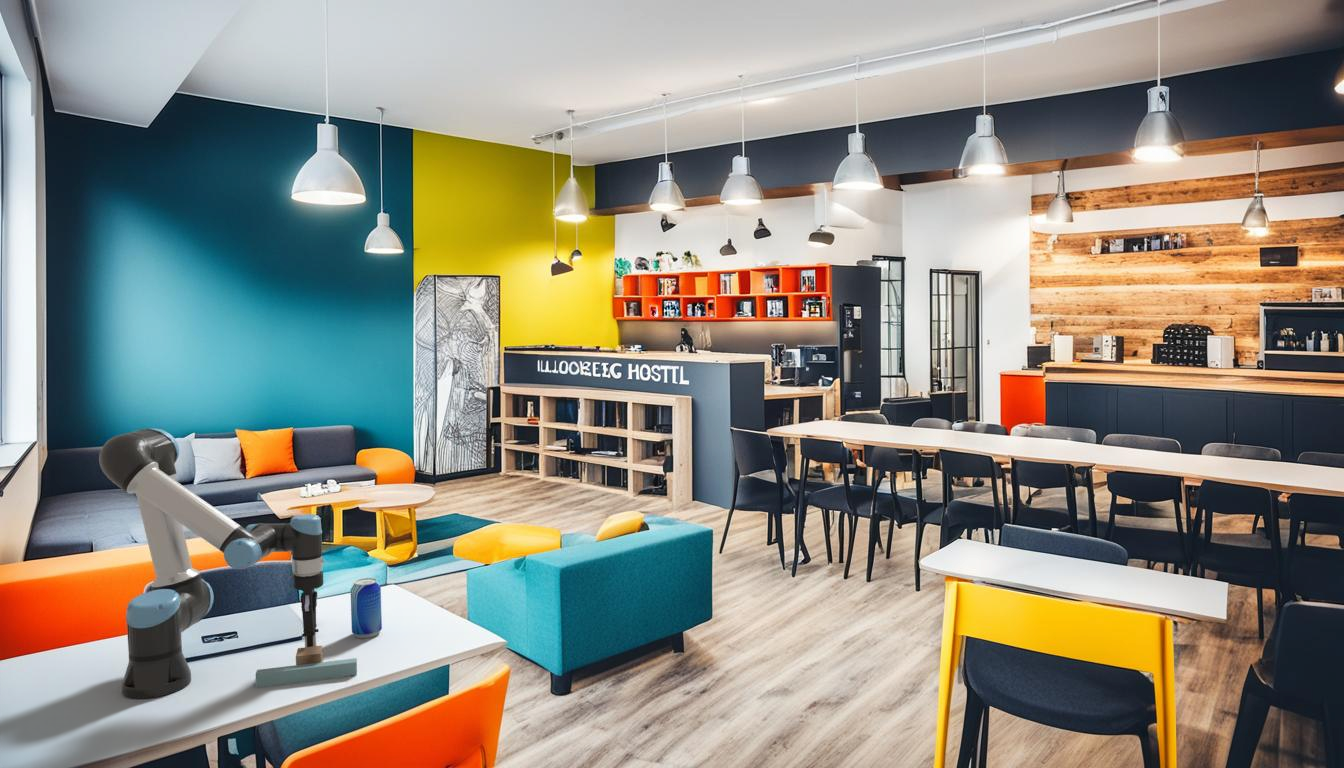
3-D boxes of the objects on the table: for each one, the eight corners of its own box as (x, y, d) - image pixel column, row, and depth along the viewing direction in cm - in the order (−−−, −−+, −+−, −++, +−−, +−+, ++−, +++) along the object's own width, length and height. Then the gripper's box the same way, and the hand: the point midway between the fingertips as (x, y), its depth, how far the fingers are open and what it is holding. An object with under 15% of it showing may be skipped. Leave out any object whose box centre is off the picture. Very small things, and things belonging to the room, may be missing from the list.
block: (296, 678, 227) (295, 656, 226) (298, 670, 233) (297, 648, 232) (321, 675, 229) (320, 653, 228) (322, 667, 234) (322, 645, 234)
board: (256, 687, 221) (255, 674, 221) (257, 683, 224) (257, 669, 224) (356, 675, 229) (356, 662, 228) (357, 670, 232) (356, 658, 231)
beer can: (362, 641, 253) (361, 587, 252) (346, 635, 258) (344, 582, 257) (387, 633, 259) (386, 580, 258) (371, 627, 265) (369, 575, 263)
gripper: (320, 578, 230) (323, 665, 232) (325, 564, 242) (328, 647, 244) (289, 580, 228) (293, 668, 230) (295, 567, 240) (298, 650, 242)
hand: (311, 657), depth 237 cm, fingers closed
